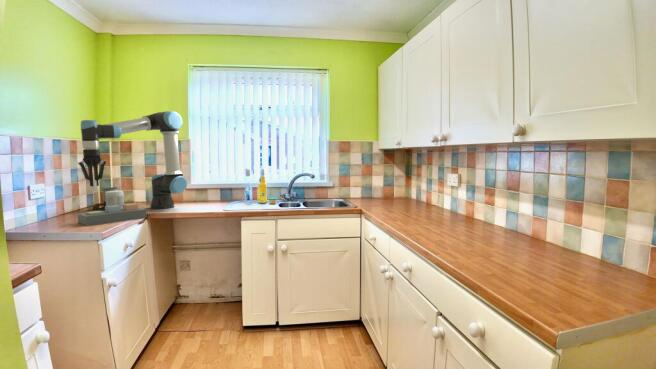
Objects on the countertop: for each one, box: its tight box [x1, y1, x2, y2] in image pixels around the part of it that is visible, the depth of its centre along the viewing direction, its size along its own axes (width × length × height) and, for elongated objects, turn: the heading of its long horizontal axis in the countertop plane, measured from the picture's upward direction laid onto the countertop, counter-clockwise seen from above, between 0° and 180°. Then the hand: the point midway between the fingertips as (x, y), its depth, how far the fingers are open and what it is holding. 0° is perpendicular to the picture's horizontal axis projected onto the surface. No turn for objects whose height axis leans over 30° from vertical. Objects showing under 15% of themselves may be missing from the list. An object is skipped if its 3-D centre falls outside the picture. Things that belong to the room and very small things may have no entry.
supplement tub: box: [105, 190, 125, 209], centre depth 212 cm, size 10×10×15 cm
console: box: [77, 207, 148, 227], centre depth 196 cm, size 30×14×5 cm, turn 140°
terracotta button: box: [122, 202, 139, 211], centre depth 203 cm, size 6×6×4 cm
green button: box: [85, 210, 103, 215], centre depth 189 cm, size 6×6×4 cm
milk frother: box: [92, 186, 119, 211], centre depth 235 cm, size 14×16×15 cm
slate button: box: [104, 205, 121, 213], centre depth 196 cm, size 6×6×4 cm
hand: (94, 192), depth 192 cm, fingers closed
